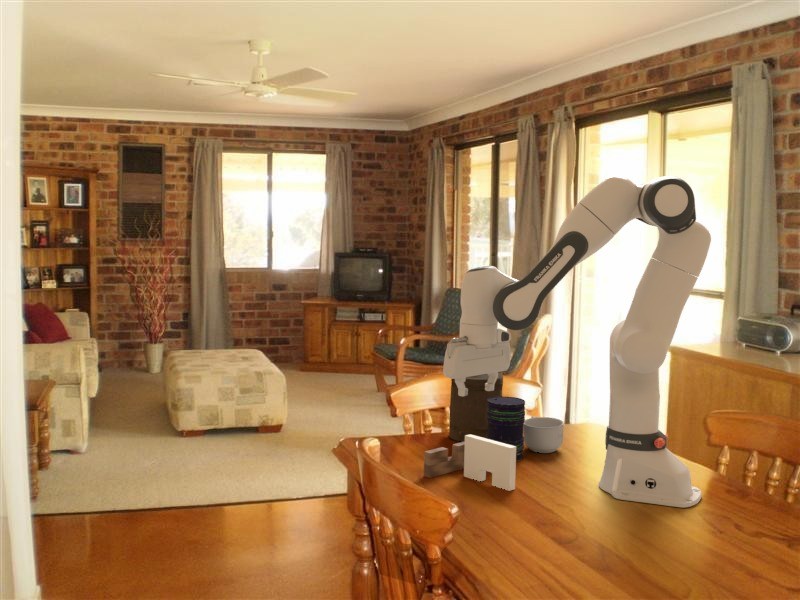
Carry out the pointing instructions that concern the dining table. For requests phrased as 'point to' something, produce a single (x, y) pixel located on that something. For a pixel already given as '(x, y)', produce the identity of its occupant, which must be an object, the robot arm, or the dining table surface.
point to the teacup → (543, 434)
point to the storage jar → (506, 422)
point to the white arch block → (490, 461)
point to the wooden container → (471, 407)
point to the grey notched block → (443, 460)
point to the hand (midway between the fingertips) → (476, 393)
